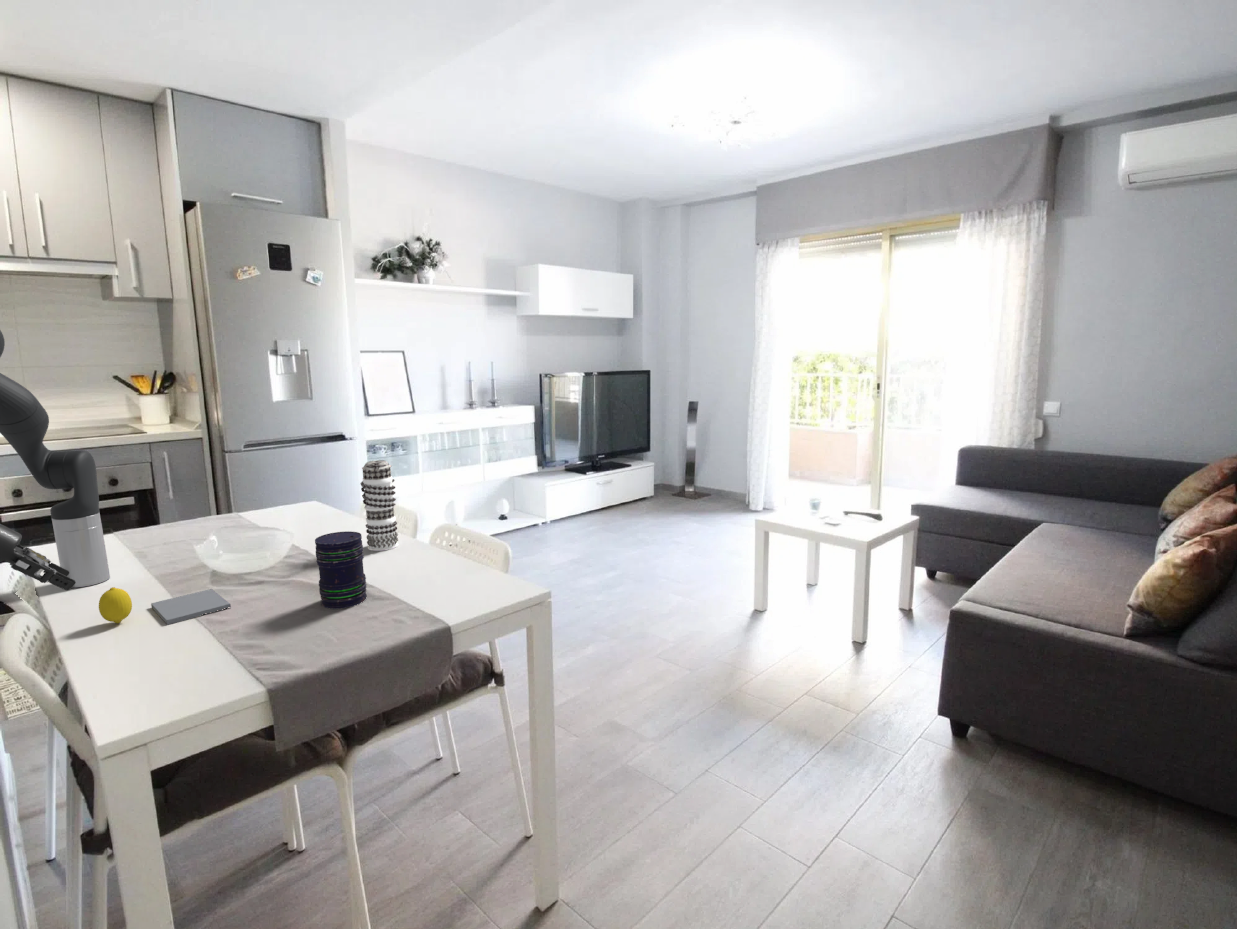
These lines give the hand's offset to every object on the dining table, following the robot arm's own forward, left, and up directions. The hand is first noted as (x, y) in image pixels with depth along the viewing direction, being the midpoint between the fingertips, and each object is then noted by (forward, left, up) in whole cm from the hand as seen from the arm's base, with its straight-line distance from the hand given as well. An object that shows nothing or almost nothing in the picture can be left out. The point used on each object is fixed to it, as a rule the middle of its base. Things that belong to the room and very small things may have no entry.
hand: (69, 581), depth 132 cm
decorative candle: (-9, +71, -11) cm, 72 cm away
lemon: (0, +7, -11) cm, 13 cm away
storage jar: (+24, +45, -11) cm, 52 cm away
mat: (+2, +20, -11) cm, 23 cm away
